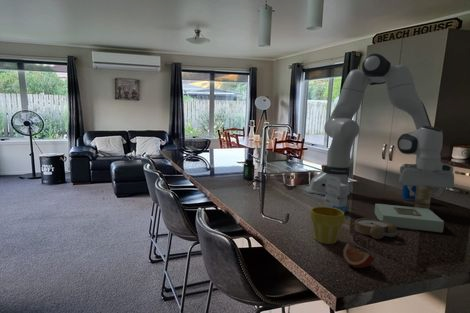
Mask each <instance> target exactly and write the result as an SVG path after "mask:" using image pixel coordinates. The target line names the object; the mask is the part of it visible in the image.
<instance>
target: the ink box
mask: <svg viewBox="0 0 470 313" xmlns="http://www.w3.org/2000/svg"><path fill="white" fill-rule="evenodd" d="M331 179H334V180H336V181H332V180H331ZM340 182H341V179H340V178H336V177H333V176H329V175H327V182H326V194H325V195H324V196H325V197H324V207H331V208H336V209H339V210H341V211H343V212H344V213H347V209H348V208H347V206H348V196H349V195H348V185H345V184H342V183H340Z"/></svg>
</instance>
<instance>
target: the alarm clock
mask: <svg viewBox="0 0 470 313" xmlns="http://www.w3.org/2000/svg"><path fill="white" fill-rule="evenodd" d="M351 224H352V225H354V230H356V231H355V232H357V233H358V234H362V235H366V236H371V238H373V239H374V238H375V240H380V239H383V238H384V237H388V238H394V237H396V236H397V234H398V230H397V227H395V225H394V224H391V223H390V224H389V223H387V222H385V221H382V220H378V218H377V219H375V218H358V219H357V218H356V219H355V221H354V222H352V223H351Z"/></svg>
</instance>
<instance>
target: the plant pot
mask: <svg viewBox="0 0 470 313" xmlns="http://www.w3.org/2000/svg"><path fill="white" fill-rule="evenodd" d="M310 220H311V222H312V227H313V232H314V234H313V235H314V239H315V240H316V241H317V242H318V243H321V244H326V245H333V244H335V243H337V240H338V237H339V234H340V230H341V227H342V225H344V221H345V212H343V211H341V210H339V209H336V208H331V207H325V206H316V207H312V208H311V210H310Z"/></svg>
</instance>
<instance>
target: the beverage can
mask: <svg viewBox="0 0 470 313" xmlns="http://www.w3.org/2000/svg"><path fill="white" fill-rule="evenodd" d="M407 186H408V185H402V190H401V191H402V193H401V198H402V199H404V200H405V201H409V202H410V201H412V202H413V201H414V202H415V194H416V186H413V187H412V188H411V190H412V191H414V192H415V194H414V196H410V191H409V189H408V187H407Z"/></svg>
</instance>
